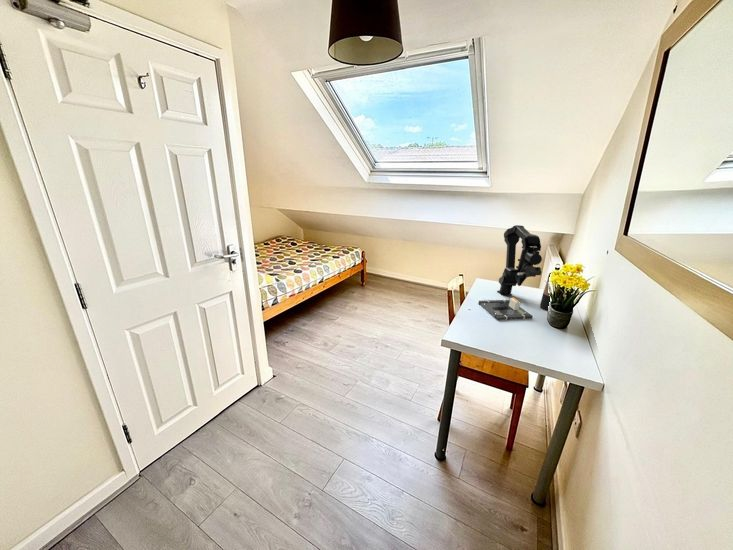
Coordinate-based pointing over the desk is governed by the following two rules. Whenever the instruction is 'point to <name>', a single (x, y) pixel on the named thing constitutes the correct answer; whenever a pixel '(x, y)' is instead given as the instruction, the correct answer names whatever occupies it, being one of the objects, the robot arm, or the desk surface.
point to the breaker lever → (514, 303)
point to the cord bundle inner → (492, 301)
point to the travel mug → (545, 297)
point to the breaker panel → (502, 309)
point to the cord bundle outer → (514, 317)
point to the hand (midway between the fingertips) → (518, 285)
